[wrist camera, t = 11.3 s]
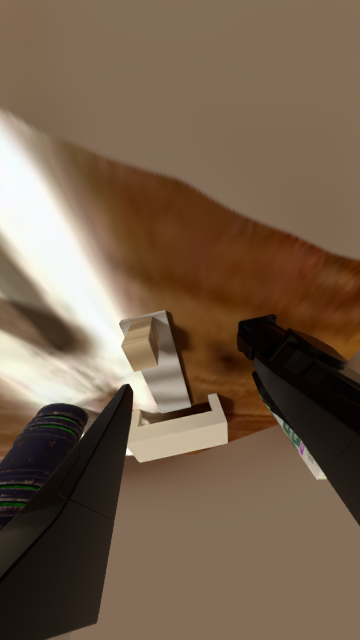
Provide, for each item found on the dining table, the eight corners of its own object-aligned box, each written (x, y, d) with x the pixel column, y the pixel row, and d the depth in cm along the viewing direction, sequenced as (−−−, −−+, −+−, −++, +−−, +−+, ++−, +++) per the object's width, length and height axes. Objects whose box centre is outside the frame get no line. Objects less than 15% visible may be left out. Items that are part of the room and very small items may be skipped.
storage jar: (96, 410, 30) (43, 536, 17) (79, 433, 33) (23, 554, 20) (44, 397, 27) (-72, 540, 14) (31, 423, 30) (-75, 561, 17)
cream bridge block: (216, 393, 32) (226, 421, 26) (218, 414, 36) (227, 443, 31) (131, 411, 32) (125, 444, 26) (143, 431, 36) (139, 462, 30)
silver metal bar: (121, 319, 22) (102, 350, 15) (165, 309, 22) (166, 335, 15) (161, 406, 33) (160, 447, 26) (189, 400, 33) (196, 438, 26)
